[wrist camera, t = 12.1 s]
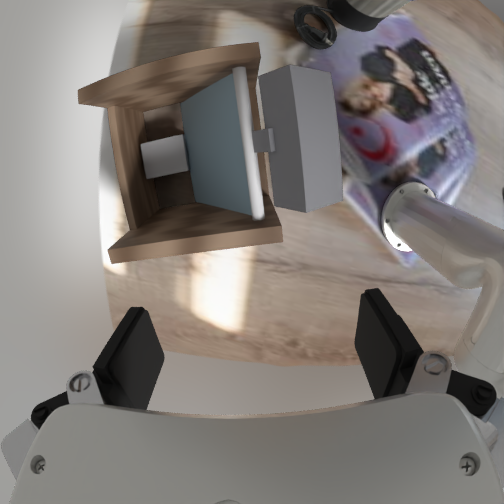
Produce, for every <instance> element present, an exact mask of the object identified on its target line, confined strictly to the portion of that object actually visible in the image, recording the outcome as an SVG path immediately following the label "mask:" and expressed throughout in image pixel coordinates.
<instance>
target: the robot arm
mask: <svg viewBox="0 0 504 504" xmlns="http://www.w3.org/2000/svg"><path fill="white" fill-rule="evenodd" d="M381 224H382V230H383V234H384V236H385V238H386V239H387V241H388V242H389V243H390V244H391V245H392V246H393V247H395V248H396V249H398V250H401V251H414V252H415V253H416V254H417V255H419V256H420V257H421V258H422V259H424V260H425V261H426V262H427V263H429V264H430V265H431V266H432V267H433V268H435V269H436V270H437V271H438V272H439V273H440V274H442V275H443V276H444V277H445V278H446V279H447V280H449V281H450V282H451V283H452V284H454V285H455V286H457V287H459V288H463V289H475V288H479V287H482V291H481V293H480V296H479V298H478V301H477V304H476V306H475V308H474V310H473V312H472V314H471V316H470V318H469V320H468V322H467V324H466V326H465V328H464V330H463V332H462V334H461V336H460V338H459V340H458V342H457V344H456V347H455V350H454V362H455V366H456V368H457V370H458V372H457V371H454V370H451V369H452V364H451V361H450V359H449V358H448V357H447V356H446V355H445V354H443V353H441V352H439V351H427V352H425V353H424V351H423V350H422V348H421V347H420V345H419V344H418V342H417V340H416V339H415V337H414V336H413V334H412V333H411V331H410V330H409V328H408V327H407V325H406V324H405V322H404V321H403V319H402V318H401V317H400V316H399V315H397V314H396V312H395V311H394V309H393V308H392V306H391V305H390V303H389V302H388V301H387V299H386V298H385V296H384V295H383V294H382V292H381V291H380V289H379V288H375V289H367V290H365V293H363V294H361V299H360V307H359V315H358V322H357V329H356V336H355V348H356V351H357V353H358V356H359V358H360V361H361V364H362V366H363V369H364V371H365V374H366V377H367V379H368V382H369V385H370V387H371V390H372V393H373V396H374V398H375V399H374V400H369V401H364V402H359V403H354V404H348V405H342V406H336V407H329V408H323V409H315V410H307V411H299V412H288V413H275V414H257V415H199V414H182V413H181V414H180V413H169V412H159V411H150V410H147V407H148V404H149V401H150V398H151V395H152V392H153V390H154V387H155V384H156V381H157V378H158V376H159V373H160V370H161V368H162V365H163V362H164V353H163V350H162V348H161V345H160V343H159V340H158V337H157V335H156V332H155V329H154V327H153V324H152V321H151V318H150V316H149V313H148V311H147V310H145V309H144V308H143V307H131V308H130V309H129V310H128V312H127V313H126V315H125V316H124V318H123V319H122V321H121V322H120V324H119V325H118V327H117V328H116V330H115V331H114V333H113V335H112V336H111V338H110V339H109V341H108V342H107V344H106V346H105V347H104V349H103V350H102V352H101V354H100V355H99V357H98V359H97V361H96V362H95V364H94V365H93V368H94V371H93V372H92V373H91V372H90V371H79V372H77V373H75V374H73V375H72V376H71V377H70V378H69V380H68V381H67V384H66V389H67V391H66V392H64V393H62V394H59V395H57V396H55V397H53V398H51V399H49V400H47V401H45V402H42V403H40V404H38V405H37V406H36V407H35V408H34V409H33V411H32V414H31V421H30V420H29V419H27V420H26V421H24V422H23V423H22V424H21V425H20V426H18V427H17V428H16V429H14V430H13V431H12V432H11V433H9V434H8V435H7V436H6V437H5V438H4V439H3V441H2V443H1V449H2V452H3V454H4V457H5V459H6V461H7V463H8V465H9V467H10V469H11V471H12V473H13V475H14V477H15V479H16V483H15V486H14V490H13V493H12V496H11V500H10V503H9V504H504V492H503V487H504V230H503V229H500V228H498V227H496V226H494V225H492V224H490V223H488V222H485V221H483V220H481V219H479V218H477V217H475V216H473V215H471V214H469V213H467V212H465V211H462V210H460V209H458V208H456V207H454V206H451V205H449V204H447V203H445V202H442V201H440V200H438V199H436V197H435V195H434V194H433V192H432V191H431V190H430V189H429V188H428V187H427V186H426V185H424V184H421V183H418V182H406V183H403V184H401V185H399V186H398V187H397V188H395V189H394V190H393V191H392V192H391V194H390V195H389V196H388V198H387V200H386V202H385V204H384V207H383V211H382V217H381Z"/></svg>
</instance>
